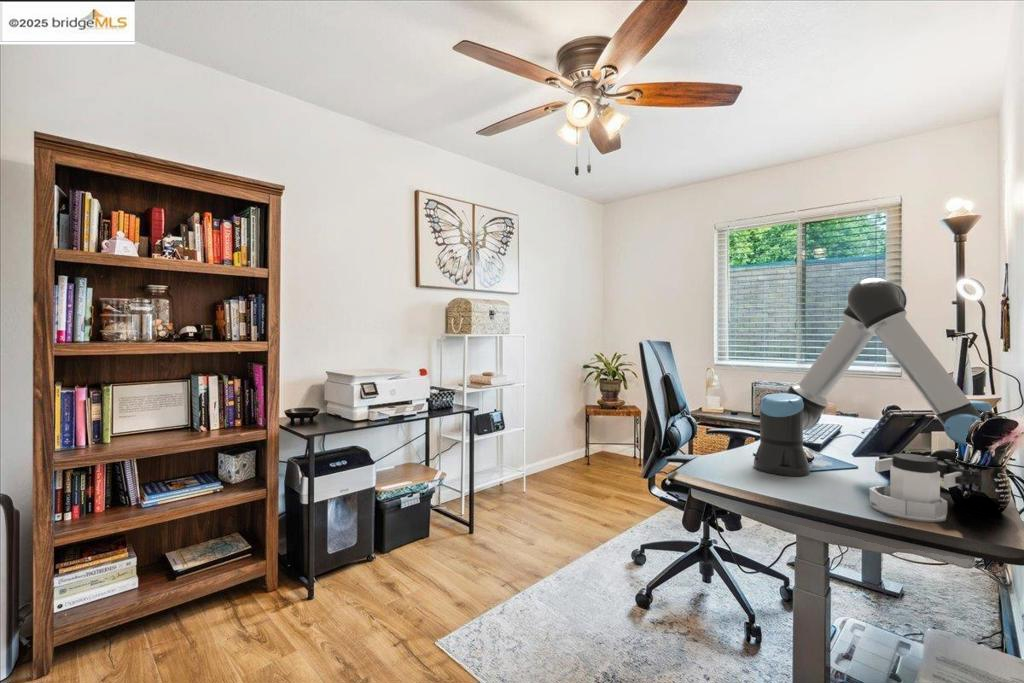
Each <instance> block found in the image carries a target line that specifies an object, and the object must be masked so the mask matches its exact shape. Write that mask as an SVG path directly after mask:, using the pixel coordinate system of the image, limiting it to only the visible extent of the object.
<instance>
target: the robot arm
mask: <svg viewBox="0 0 1024 683" xmlns="http://www.w3.org/2000/svg"><path fill="white" fill-rule="evenodd" d="M907 300H908V299H907V294H906V292H905V290H904V289H903V288H902V287H901V286H900V285H898V284H896V283H895V282H892V281H889V280H887V279H884V278H879V277H869V278H865V279H862V280H860V281H858V282H857V283H856V284H854V285H853V286H852V287H851V288H850V290H849V292H848V296H847V304H848V305H847V306H846V308H845V309H844V311H843V312H842V317H843V319H844V320H843V322H842V323H841V325H839V327H838V329H837V330H836V332H835V333H834V334H833V335H832V337H831V339H830V340H829V342H828V343H827V344H826V346H825V347H824V348H823V350H822V351H821V352H820V353H819V355H818V357H817V358H816V360H814V362H813V364H812V365H811V366H810V368H809V369H808V371H807V372H806V373H805V374H804V376H803V378H802V379H801V380H800V382H798V383H793V384H792V383H791V386H790V387H789V388H788V389H787V391H786V392H779V393H778V392H776V393H769V394H764V395H763V396H762V397H761V399H760V404H759V413H760V415H759V416H760V418H759V420H760V421H759V422H760V423H759V424H760V426H759V427H760V428H759V430H760V432H759V438H760V440H759V445H758V448H757V450H756V453H755V456H754V459H753V467H754V468H755V469H756V468H757V470H758V469H759V470H758V471H761V472H765V473H769V474H772V475H778V474H779V475H778V476H786V477H787V476H790V477H803V476H807V475H809V474H810V463H809V462H808V458H807V455H806V453H805V450H804V449H805V448H804V431H806V430H809V429H812V428H813V427H815V426H816V425H817V424H818V423H819V422H820V419H821V417H822V413H823V412H824V410H825V409H826V408H827V407H828V404H829V402H828V400H827V398H828V396H829V395H830V393H831V392H832V391H833V389H834V388H835V387H836V386H837V384H838V383H839V381H841V379H842V378H843V377H844V375H845V374H846V372H847V371H848V370H849V369H850V367H851V366H852V364H853V363H854V362H855V361H856V359H857V358H858V356H860V354H861V352H862V351H863V350H864V349H865V347H866V346H867V345H868V343H869V342H870V341H871V339H872V338H873V337H874V335H876V336H877V337H878V339H879V340H880V341H881V343H882V344H883V345H884V347H885V348H886V349H887V351H888V352H889V354H890V355H891V356H892V358H893V359H894V361H895V362H896V363H897V365H898V366H899V367H900V369H901V370H902V371H903V373H904V374H905V375H906V377H907V378H908V379H909V380H910V382H911V383H912V385H913V386H914V387H915V389H916V390H917V391H918V393H919V394H920V395H921V397H922V399H924V401H925V403H926V404H927V405H928V406H929V408H930V409H931V410H932V412H933V413H934V415H935V416H936V418H937V419H938V421H939V422H940V423H941V425H942V426H943V429H944V432H945V434H946V436H947V438H948V439H950V440H951V441H952V440H953V441H954V442H956V443H959V444H962V445H966V438H967V435H968V430H969V427H970V426H971V425H972V424H973V423H974V422H975V421H980V420H981V418H980V417H981V415H980V414H981V413H982V412H986V411H992V412H993V410H992V404H991V403H989V402H988V401H982V400H973V399H972V400H971V399H968V397H967V396H966V394H965V393H964V392H963V391H962V390H961V388H960V387H959V386H958V384H957V383H956V382H955V380H954V379H953V378H952V376H951V375H950V374H949V372H947V370H946V369H945V367H944V366H943V365H942V362H940V361H939V359H938V358H937V357H936V356H935V355H934V353H933V352H932V351H931V349H930V347H928V344H926V342H924V340H923V339H922V337H921V336H920V335H919V333H918V332H917V331H916V330H915V328H914V327H913V326H912V324H911V323H910V322H909V321H908V319H907V318H906V316H907V313H908V312H907V311H906V306H907ZM893 455H894V454H891V455H890V454H889V455H888V454H887V455H884V454H880V455H878V460H875V461H874V464H875V466H874V469H875V470H874V471H875V472H876V473H882V472H885V471H890V466H891V465H893V462H892V458H893ZM956 456H957V453H956V450H955V448H952V447H948V448H945V449H939V450H936V451H933V452H932V454H930V456H929V457H931V458H934V459H936V460H937V461H938V471H939V472H940V479H943V487H944V488H948V489H949V488H953V487H956V486H959V485H960V486H961V485H966V486H967V485H971V484H973V485H974V486H976V487H979V488H980V487H983V474H980V473H979V472H972V476H970V470H962V469H960V468H959V467H958V466H957V464H955V458H956Z"/></svg>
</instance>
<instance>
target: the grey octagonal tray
mask: <svg viewBox="0 0 1024 683" xmlns="http://www.w3.org/2000/svg"><path fill="white" fill-rule="evenodd" d="M869 501H870V503H869V505H870V507H871V508H872V509H873V510H875V511H877V512H879V513H881V514H885V515H887V516H890V517H893V518H896V519H897V518H898V519H900V520H901V519H902V520H906V521H907V520H908V521H913V522H919V523H929V522H937V523H943V522H946V520H947V515H948V501H947V500H946V499H944V498H943V497H941V496H940V501H939V502H936V503H933V504H930V503H919V502H909V501H903V500H900V499H896V498H892V497H890V485H885V484H884V485H877V486H872V487H869ZM942 521H943V522H942Z"/></svg>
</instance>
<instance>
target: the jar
mask: <svg viewBox="0 0 1024 683" xmlns="http://www.w3.org/2000/svg"><path fill="white" fill-rule="evenodd" d="M892 455H893V458H892V462H893V465H891V466H890V470H889V473H890V475H889V476H890V478H889V482H890V483H889V486H890V497H892V498H896V499H900V500H903V501H909V502H919V503H930V504H933V503H936V502H939V501H940V497H941V496H940V495H941V478H940V472H939V471H938V461H937V460H936V459H934V458H931V457H930V456H925V455H921V454H913V453H901V452H899V453H894V454H892Z"/></svg>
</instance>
